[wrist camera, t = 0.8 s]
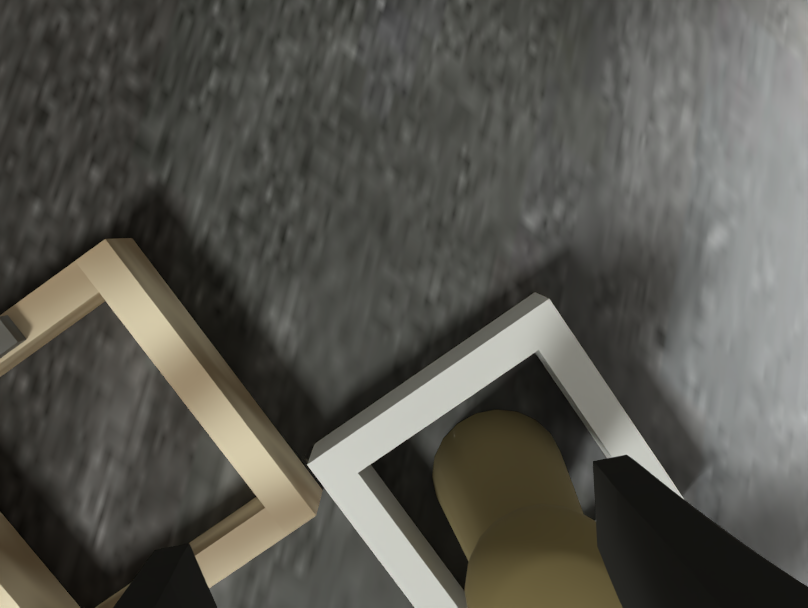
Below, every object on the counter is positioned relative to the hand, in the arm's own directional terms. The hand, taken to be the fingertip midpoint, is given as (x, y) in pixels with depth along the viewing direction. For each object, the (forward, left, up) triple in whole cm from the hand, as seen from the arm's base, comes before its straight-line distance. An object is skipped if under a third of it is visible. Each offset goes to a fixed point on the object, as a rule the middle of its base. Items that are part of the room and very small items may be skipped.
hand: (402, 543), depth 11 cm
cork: (-7, -1, -17) cm, 18 cm away
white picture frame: (-7, -1, -17) cm, 18 cm away
